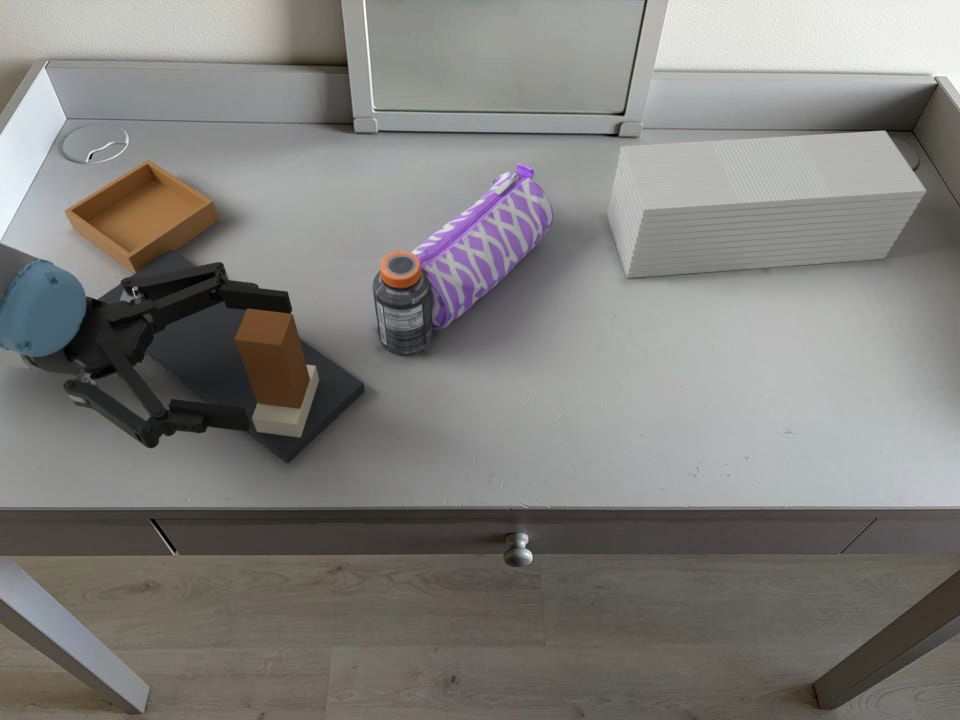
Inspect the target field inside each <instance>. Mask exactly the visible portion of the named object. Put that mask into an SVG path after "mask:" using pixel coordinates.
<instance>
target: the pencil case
mask: <svg viewBox="0 0 960 720" xmlns="http://www.w3.org/2000/svg"><path fill="white" fill-rule="evenodd" d="M534 176H535V170H534V169H533V168H532V167H531V166H529V165H527V164H524V163H522V162H517V163H516V169H515V171H514V172H513V171H507V172H503V173H501V174H500V175H499V176H497V178H495V179H494V180H493V181H492V187H490V188H489V189H488V190H487V191H486V192H485V193H484V194H482V196H481V197H480V198H479V199H478V200H477V201H476V202H475V203H474V204H472V205H471V206H470V207H468V208H467V209H465V210H464V211H462V212H461V213H459V214H458V215H456V216H454V217H453V218H452V219H450V221H449V222H447V223H446V224H444V225H443V226H442V227H440V228H439V229H438V230H437V231H435V232H434V233H433V234H431V235H430V236H429V237H428V238H427V239H426V240H424V241H423V242H422V243H421V244H419V245H418V246H417V247H416V248H414V249H413V250H412V251H410V252H411V253H413V254H414V255H416V256H417V257H418V259H419V261H420V265H421V270H424V271H425V272H426V274H427V277H428V279H429V282H430V284H431V299H432V324H433V330H436V331H437V330H438V331H439V330H443V329H444V328H447V327H448V326H449V325H450V323H452V322H453V321H455V320H457V319H458V318H460V317H461V316H462V315H463V314H465V313H466V312H467V311H468V310H469V309H470V308H471V307H472V306H473V305H474V304H475V302H476V301H478V300H479V299H481V298H482V297H483V296H485V295H486V294H487V293H488V292H490V291H491V290H492V289H493V288H494V287H496V286H497V284H499V283H500V282H501V281H502V280H503V279H504V278H505V277H506V276H507V275H508V274H509V273H510V271H512V270H513V268H515V267H516V266H517V265H518V264H519V263H520V262H521V261H522V260H523V258H525V257H526V255H528V254H529V253H530V251H531V250H534V248H535V247H536V245H538V244H539V242H540V240H541V239H542V238H543V236H544V235H545V234H546V233H547V232H548V231H549V230H550V228H551V227H552V225H553V222H554V216H555V215H554V208H553V205H552V203H551V201H550V198H549V197H548V195H547V194H546V192H545V190H544V189H543V188H542V187H541V185H540V184H539V183H537V182H536V181H535V180H533V178H534Z"/></svg>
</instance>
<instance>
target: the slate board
mask: <svg viewBox="0 0 960 720" xmlns="http://www.w3.org/2000/svg"><path fill="white" fill-rule="evenodd" d="M192 267H197V266H196V265H195V264H194V263H192V262H190V261H189V260H187V258H185V257H184V256H182V255H180V254H179V253H178V252H176V250H175V251H173V250H172V249H170V250H168V251H167V252H166V253H164V254H163V255H161V256H160V257H158V258H157V259H155V260H154V261H152V262H151V263H150V264H148V265H147V266H145V267H144V268H142V269H141V270H139V271H138V272H136V273H135V274H134V273H133V274H132V275H131V276H130V277H138V278H147V277H151V276H156V275H160V274H165V273H170V272H174V271H179V270H183V269H188V268H192ZM211 292H216V291H215V290H213V291H211ZM122 293H123V287H122V285H121V283H119V284H118V285H116V286H115V287H113V288H112V289H110V290H109V291H107V292H106V293H105V294H103V295H102V296H100V297H99V298H96V299H97V300H99V301H102V302H105V303H110V302H115V301H120V298H121V296H122ZM246 311H247V310H241V309H232V308H226V305H225V302H224V301H223V302H221V303H218V304H216V305H214V306H211V307H209V308H206V309H204V310H202V311H199V312H197V313H194V314H192V315H190V316H187V317H185V318H182V319H180V320H178V321H175V322H173V323H170V324H168V325H166V327H165V329H164V330H163V331H161V332H158V333H156V334H153V336H154V339H153V341H152V343H151V344H150V345H149V346H148V348H147V349H146V351H145V354H146V355H148V356H149V357H150V358H151V359H153V360H154V361H155V362H156V363H158V364H159V365H161V366H162V367H163V368H164V369H166V370H167V371H168V372H170V373H171V374H172V375H173V376H175V377H176V378H177V379H178V380H180V381H181V382H182V383H184V384H185V385H186V386H188V387H189V388H190V389H191V390H192V391H193V392H195V393H196V394H197V395H199V396H200V397H201V398H203V399H204V400H205V401H207V403H209V404H217V405H225V406H233V407H241V408H244V409H245V412H246V414H247V417H248V419H249V422H250V424H251V425H250V428H249V430H248V432H247V431H245V432H246V433H247V434H248V435H250V436H251V437H253V438H254V439H255V440H257V441H258V442H259V443H260V444H262V446H264V447H265V448H267V449H268V450H269V451H270V452H272V453H273V455H276V456H277V457H278V458H279V459H281V461H283V462H285V464H289V463H291V461H292V460H293V459H295V458H296V457H297V456H298V455H299V454H300V453H301V452H302V451H303V450H304V449H305V448H307V446H309V445H310V443H312V442H313V441H314V440H315V439H316V438H317V437H318V436H319V435H320V434H321V433H322V432H323V431H324V430H326V429H327V428H328V427H329V426H330V425H332V423H333V422H334V421H335V420H336V419H337V418H338V417H340V415H342V414H343V413H344V412H345V411H346V410H347V409H348V408H349V407H350V406H351V405H352V404H353V403H354V402H355V401H356V400H358V399H359V397H361V396H362V395H363V394H364V393H365V384H364V382H363V381H361V380H360V379H358V378H357V377H356V376H355V375H353V374H352V373H350V372H349V371H347V370H346V369H344V368H343V367H341V366H340V365H338V364H337V363H335V362H334V361H332V360H331V359H330V358H329V357H327V356H325V355H324V354H323V353H321V352H320V351H318V350H317V349H315V348H314V347H313V346H311V345H310V344H308V343H307V342H305V341H304V340H303V339H301V338H300V337H299V339H300V343H301V347H302V350H303V354H304V358H305V362H306V365H313V366H316V369H317V373H318V377H319V383H318V386H317V389H316V392H315V395H314V398H313V401H312V404H311V407H310V410H309V414H308V417H307V420H306V423H305V426H304V429H303V432H302V435H301V438H299V437H292V436H284V435H277V434H269V433H262V432H257V430H256V428H255V425H254V423H253V420H252V417H253V414H254V411H255V409H256V406H257V403H258V401H257V399H256V396H255V393H254V391H253V388H252V385H251V383H250V380H249V377H248V375H247V372H246V369H245V367H244V364H243V361H242V358H241V356H240V353H239V350H238V348H237V345H236V342H235V337H236V334H237V332H238V330H239V327H240V325H241V323H242V320H243V318H244V315H245V313H246ZM143 316H144V317H145V318H146V319H147V321H148V322H151V321H152V320H153V319H152V317H151V315H150V314H146V315H143Z"/></svg>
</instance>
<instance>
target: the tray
mask: <svg viewBox="0 0 960 720" xmlns="http://www.w3.org/2000/svg"><path fill="white" fill-rule="evenodd" d="M63 212H64V214H65V216H66V217H67V220H68V221H69V223H70V225H71V227H72V229H73V230H74V232H76V233H77V234H79V235H80V236H81V237H83V238H84V239H86V240H87V241H88V242H90V243H91V244H92V245H94V246H95V247H97V248H98V249H99V250H101V251H102V252H103V253H105V254H106V255H108V256H109V257H110V258H112V259H113V260H114V261H116V262H117V263H118V264H120V265H121V266H122V267H124V268H125V269H127V270H129V272H130V273H132V274H133V275H134V274H135V273H136V272H138V271H139V270H141V269H142V268H144V267H145V266H147V265H148V264H150V263H151V262H152V261H154V260H155V259H157V258H158V257H160V256H161V255H163V254H164V253H166V252H167V251H168V250H170V249H172V250H173V251H175V252H176V251H177V250H179V249H180V248H181V247H183V246H184V245H186V244H187V243H189V242H190V241H192V240H193V239H194V238H196V237H197V236H199V235H200V234H202V233H203V232H205V231H206V230H207V229H209V228H210V227H212V226H213V225H215V224H216V223H218V222H219V221H220V217H219V215H218V212H217V209H216V205H215V202H214V200H212V199H211V198H209V197H207V196H206V195H204V194H203V193H201V192H200V191H198V190H196V189H195V188H193V187H192V186H191V185H189V184H187V183H186V182H184V181H183V180H181V179H179V178H178V177H177V176H175V175H173V174H172V173H171V172H168V171H167V170H166V169H164V168H163V167H162V166H159V165H158V164H156V163H155V162H153V161H151V160H150V159H146V160H145V161H144V162H142V163H140V164H138V165H137V166H136V167H134V168H133V169H130V170H129V171H127V172H125V173H124V174H122V175H120V176H119V177H118V178H116V179H114V180H112V181H111V182H109V183H108V184H106V185H104V186H102V187H101V188H99V189H97V190H96V191H94V192H93V193H91V194H89V195H88V196H86V197H84V198H83V199H81V200H79V201H78V202H76V203H75V204H73V205H72V206H70V207H68V208H67V209H65V210H64V211H63Z"/></svg>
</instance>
